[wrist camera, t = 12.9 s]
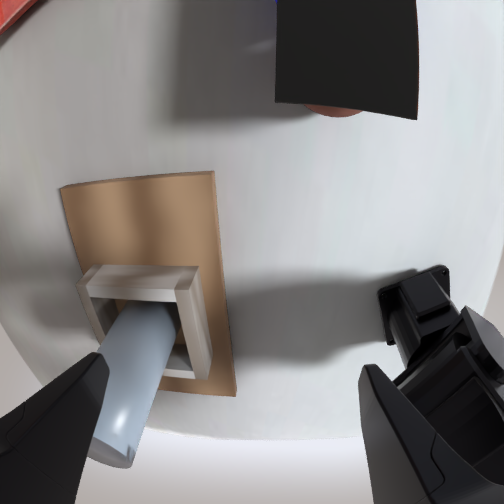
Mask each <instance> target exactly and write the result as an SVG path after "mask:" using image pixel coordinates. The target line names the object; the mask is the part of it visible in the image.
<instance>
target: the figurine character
mask: <svg viewBox="0 0 504 504" xmlns="http://www.w3.org/2000/svg"><path fill="white" fill-rule="evenodd" d="M275 1H276V3H277V41H276V81H275V103H292V104H304V105H305V106H306V107H307V108H309V109H311V110H312V111H314V112H316V113H319V114H321V115H325V116H330V117H348V116H352V115H355V114H358V113H360V112H362V111H367V112H373V113H379V114H385V115H391V116H396V117H401V118H406V119H411V120H417V115H418V95H419V39H418V20H417V8H416V0H275Z"/></svg>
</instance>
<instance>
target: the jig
mask: <svg viewBox="0 0 504 504" xmlns="http://www.w3.org/2000/svg"><path fill="white" fill-rule="evenodd" d="M60 191H61V196H62V200H63V205H64V209H65V213H66V217H67V221H68V225H69V229H70V233H71V236H72V240H73V243H74V247H75V250H76V254H77V257H78V260H79V263H80V266H81V270H82V273H83V277H82V278H81V279H80V280H79V281H78V282H77V284H76V288H77V290H78V293H79V296H80V298H81V301H82V304H83V306H84V309H85V311H86V314H87V316H88V319H89V321H90V323H91V326H92V328H93V330H94V333H95V335H96V337H97V339H98V342H99V344H100V345H101V343H102V342H103V340H104V338H105V337H106V335H107V333H108V332H109V330H110V328H111V327H112V325H113V323H114V322H115V320H116V319H117V317H118V315H119V314H120V312H121V311H122V309H123V307H124V306H125V304H126V303H127V301H128V300H143V301H162V302H176V303H177V306H178V311H179V315H180V320H181V326H180V329H179V331H178V334H177V337H176V339H175V342H174V345H173V348H172V350H171V353H170V356H169V358H168V361H167V364H166V367H165V369H164V372H163V375H162V378H161V380H160V383H159V386H158V389H159V390H166V391H174V392H183V393H193V394H203V395H216V396H232V397H236V391H237V387H236V379H235V372H234V364H233V355H232V347H231V339H230V330H229V321H228V312H227V303H226V294H225V285H224V275H223V265H222V255H221V244H220V233H219V222H218V211H217V199H216V187H215V174H214V171H202V172H185V173H171V174H158V175H147V176H136V177H127V178H117V179H109V180H101V181H93V182H85V183H78V184H71V185H66V186H65V187H63V188H61V189H60Z"/></svg>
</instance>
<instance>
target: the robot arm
mask: <svg viewBox="0 0 504 504" xmlns="http://www.w3.org/2000/svg"><path fill="white" fill-rule="evenodd" d="M443 271H444V273H442V272H443ZM382 294H385V295H384V296H382ZM377 298H378V302H379V307H380V312H381V317H382V322H383V328H384V333H385V339H386V343H387V345H390V346H391V345H394V344H396V345H397V348H398V350H399V353H400V356H401V358H402V361H403V364H404V366H405V370H404V371H403V372H402V373H401V374H400V375H399V376H398V377H397V378H395V379H394V380H393V381H391V380H390V379H389V378H388V377H387V376H386V374H385V373H384V372H383V371H382V370H381V369H380V368H379V367H378V366H377V365H376V364H366V365H364V366H363V368H362V371H361V374H360V378H359V381H358V390H359V402H360V416H361V427H362V433H363V438H364V444H365V449H366V455H367V461H368V467H369V473H370V480H371V487H372V494H373V501H374V504H504V338H503V336H502V335H501V334H500V332H499V331H498V330H497V329H496V328H495V326H494V325H493V324H492V323H490V322H489V321H487V320H486V319H485V318H483V317H482V316H480V315H479V314H478V313H476V312H475V311H473V310H472V309H470V308H469V307H468V306H466V305H465V307H464V308H463V309H462V310H461V313H459V311H458V310H457V308H456V307H455V305H454V304H453V302H452V301H451V299H450V277H449V269H448V268H447V267H446V266H444V265H443V266H440V267H438V268H435V269H433V270H430V271H428V272H425V273H422V274H420V275H417V276H415V277H412V278H409V279H407V280H404V281H401V282H399V283H396V284H393V285H390V286H388V287H385V288H382V289H380V290H379V291H378V293H377ZM390 340H391V341H390ZM109 375H110V369H109V366H108V364H107V362H106V360H105V358H104V356H103V355H102V354H101V353H96V352H91V353H90V354H88V355H87V356H85V357H84V358H83V359H81V360H80V361H79V362H77V363H76V364H74V365H73V366H72V367H70V368H69V369H68V370H66V371H65V372H64V373H62V374H61V375H60V376H58V377H57V378H55V379H54V380H53V381H51V382H50V383H49V384H47V385H46V386H45V387H43V388H42V389H41V390H39V391H38V392H37V393H35V394H34V395H33V396H31V397H30V398H29V399H27V400H26V402H23V403H22V404H21V405H19V406H18V407H16V408H15V409H14V410H12V411H11V412H9V413H8V414H6V415H5V416H3V417H2V418H0V504H75V500H76V495H77V490H78V487H79V483H80V479H81V475H82V472H83V468H84V465H85V461H86V458H87V454H88V451H89V447H90V444H91V441H92V437H93V434H94V431H95V428H96V425H97V422H98V419H99V415H100V412H101V409H102V405H103V401H104V397H105V392H106V388H107V383H108V379H109Z"/></svg>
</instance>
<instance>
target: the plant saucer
mask: <svg viewBox="0 0 504 504" xmlns="http://www.w3.org/2000/svg"><path fill="white" fill-rule="evenodd" d="M37 1H38V0H0V35H1V34H2V33H3V32H5V31H6V30H7V29H8V28H9V27H10V26H11V25H12V24H13V23H14V22H16V21H17V20H18V19H19V18H20V17H21V16H22V15H23V14H24V13H25V12H26V11H27V10H28V9H29V8H30V7H31V6H32V5H33V4H35V3H36V2H37Z"/></svg>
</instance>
